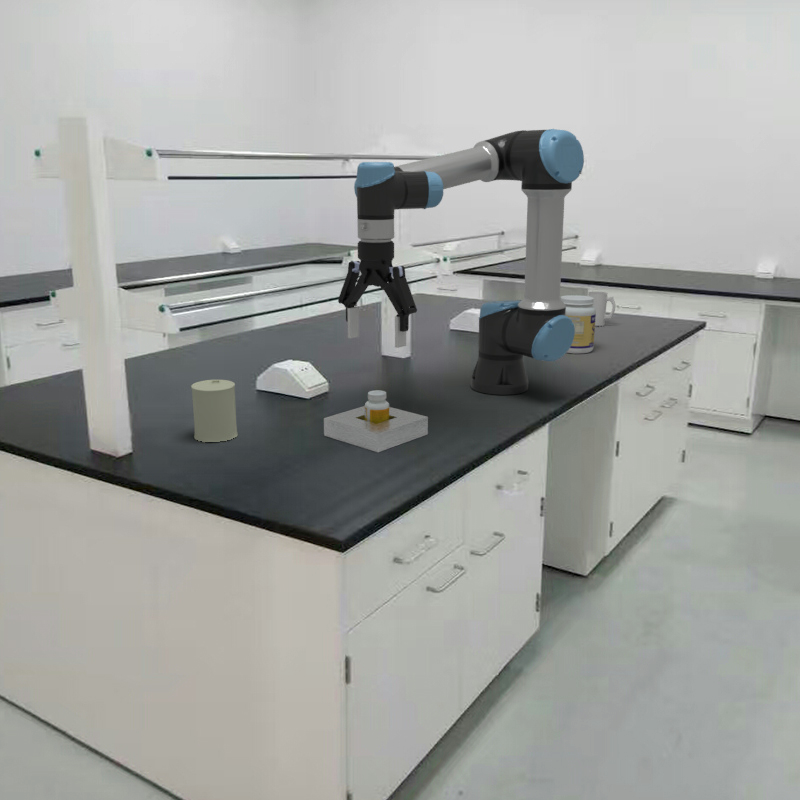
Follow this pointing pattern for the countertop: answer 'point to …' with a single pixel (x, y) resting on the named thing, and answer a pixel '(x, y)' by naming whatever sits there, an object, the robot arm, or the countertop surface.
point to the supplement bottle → (376, 407)
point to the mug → (601, 306)
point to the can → (214, 410)
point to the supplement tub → (581, 322)
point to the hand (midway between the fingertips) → (376, 342)
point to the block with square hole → (375, 428)
